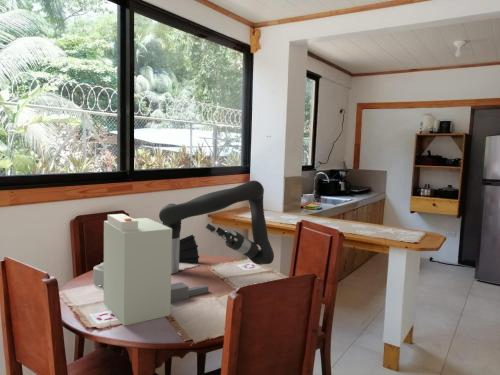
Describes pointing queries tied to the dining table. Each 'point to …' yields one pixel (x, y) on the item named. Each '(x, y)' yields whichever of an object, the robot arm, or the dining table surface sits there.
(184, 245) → the black ridged fan wedge
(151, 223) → the pale grey tall block
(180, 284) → the block
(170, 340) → the dining table surface
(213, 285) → the dining table surface
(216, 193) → the robot arm
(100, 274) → the lumpy-topped squat cylinder
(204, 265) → the dining table surface
